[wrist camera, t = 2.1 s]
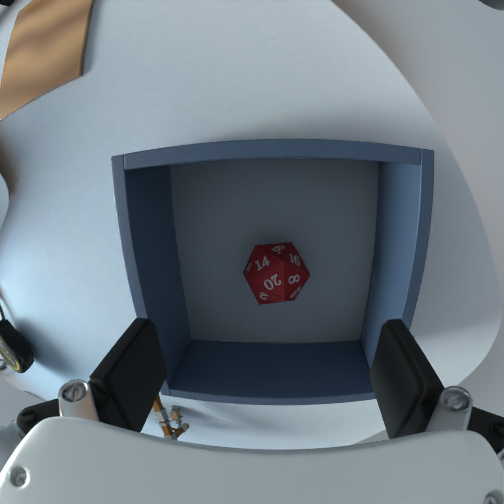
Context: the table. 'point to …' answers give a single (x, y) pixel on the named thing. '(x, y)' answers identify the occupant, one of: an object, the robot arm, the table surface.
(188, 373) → the tote
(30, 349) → the tape measure
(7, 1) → the digital camera
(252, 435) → the table surface
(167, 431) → the wooden post with brackets
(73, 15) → the cork mat
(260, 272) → the dice
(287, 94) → the table surface
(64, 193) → the table surface
